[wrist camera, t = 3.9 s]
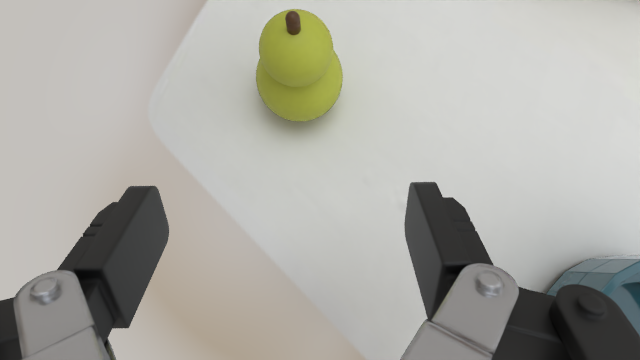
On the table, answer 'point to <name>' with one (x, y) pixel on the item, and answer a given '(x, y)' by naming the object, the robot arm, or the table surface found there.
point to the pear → (298, 66)
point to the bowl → (609, 282)
